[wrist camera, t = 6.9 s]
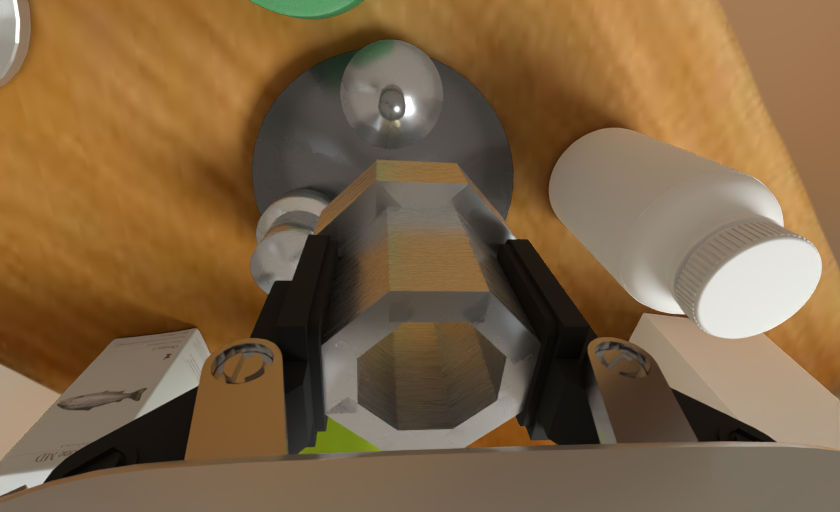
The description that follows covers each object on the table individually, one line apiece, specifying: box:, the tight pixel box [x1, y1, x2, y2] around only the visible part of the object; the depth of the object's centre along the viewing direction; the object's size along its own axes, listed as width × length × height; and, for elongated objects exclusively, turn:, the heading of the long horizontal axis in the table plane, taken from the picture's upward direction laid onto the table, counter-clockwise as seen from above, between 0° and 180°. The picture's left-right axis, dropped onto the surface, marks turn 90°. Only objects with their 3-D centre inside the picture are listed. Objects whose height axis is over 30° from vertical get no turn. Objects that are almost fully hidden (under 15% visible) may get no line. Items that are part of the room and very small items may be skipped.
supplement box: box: [0, 328, 211, 496], centre depth 30 cm, size 7×7×13 cm
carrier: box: [250, 39, 513, 294], centre depth 26 cm, size 18×18×7 cm
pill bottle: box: [549, 128, 822, 339], centre depth 24 cm, size 8×8×15 cm
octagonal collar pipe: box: [314, 160, 541, 451], centre depth 11 cm, size 6×6×6 cm
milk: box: [628, 313, 840, 450], centre depth 29 cm, size 12×12×26 cm
